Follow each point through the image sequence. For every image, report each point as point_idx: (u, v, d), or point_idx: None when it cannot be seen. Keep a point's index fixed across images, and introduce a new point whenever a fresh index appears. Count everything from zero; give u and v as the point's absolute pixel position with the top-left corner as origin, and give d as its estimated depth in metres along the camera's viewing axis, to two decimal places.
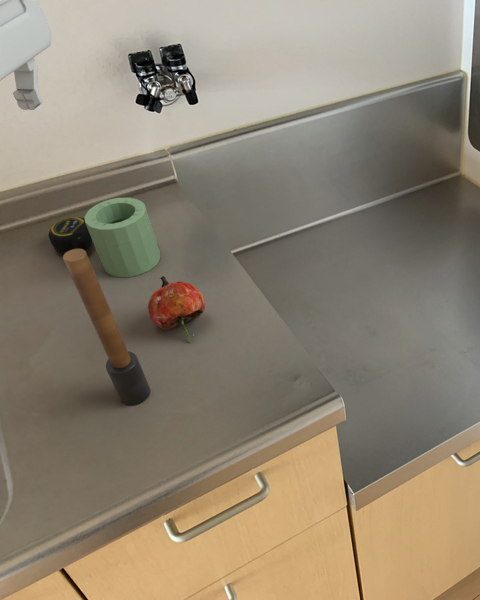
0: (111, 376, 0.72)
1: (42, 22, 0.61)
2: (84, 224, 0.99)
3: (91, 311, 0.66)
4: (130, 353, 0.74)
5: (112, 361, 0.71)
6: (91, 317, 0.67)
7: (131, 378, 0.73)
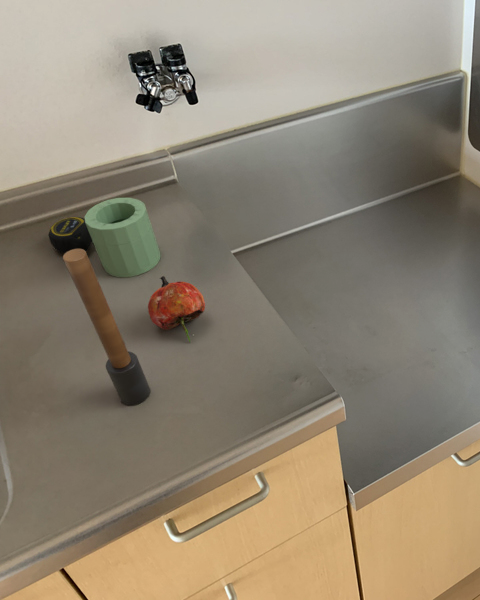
0: (111, 376, 0.72)
1: None
2: (84, 223, 0.99)
3: (91, 311, 0.66)
4: (130, 353, 0.74)
5: (112, 361, 0.71)
6: (91, 317, 0.67)
7: (131, 378, 0.73)
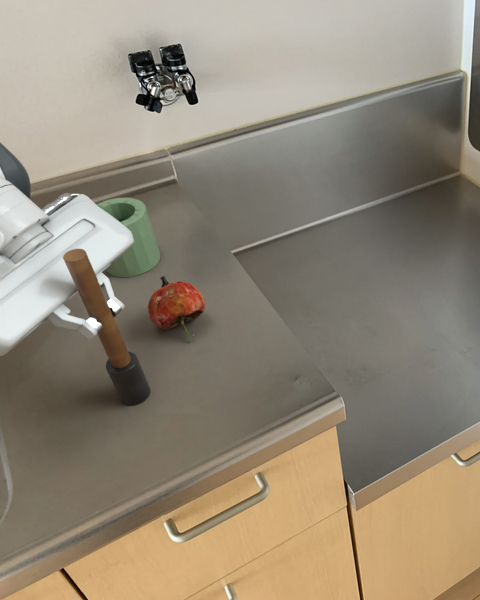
0: (111, 376, 0.72)
1: (116, 228, 0.71)
2: None
3: (91, 311, 0.66)
4: (130, 353, 0.74)
5: (112, 361, 0.71)
6: None
7: (131, 378, 0.73)
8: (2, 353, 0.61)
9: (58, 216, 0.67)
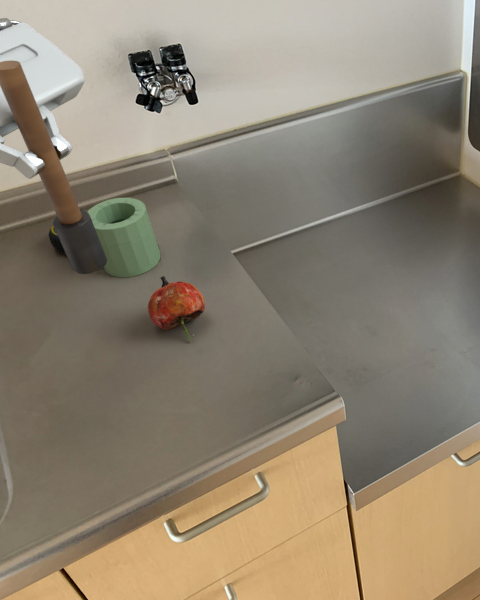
0: (59, 234, 0.63)
1: (63, 61, 0.62)
2: None
3: (30, 143, 0.57)
4: (82, 211, 0.65)
5: (59, 214, 0.62)
6: None
7: (82, 237, 0.64)
8: None
9: None
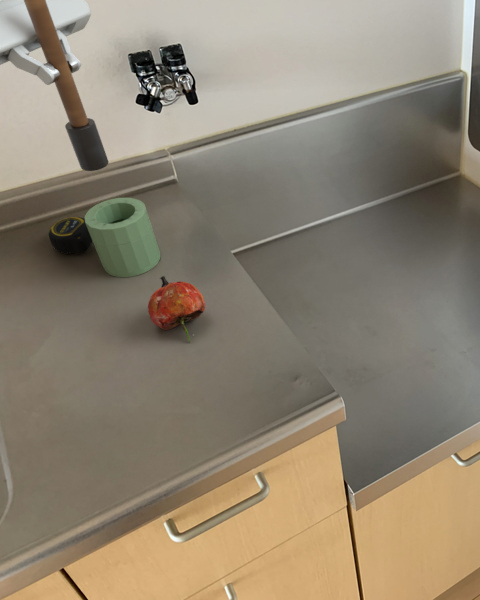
0: (70, 135, 0.79)
1: None
2: (84, 224, 0.99)
3: (49, 55, 0.73)
4: (88, 119, 0.81)
5: (70, 118, 0.78)
6: None
7: (88, 138, 0.80)
8: None
9: None
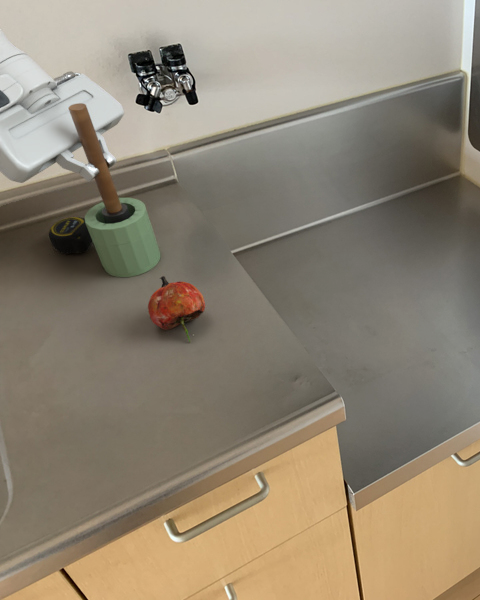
0: (106, 220, 0.91)
1: (110, 100, 0.90)
2: (84, 224, 0.99)
3: (90, 157, 0.84)
4: (121, 204, 0.92)
5: (107, 206, 0.90)
6: None
7: None
8: (21, 179, 0.79)
9: (64, 85, 0.86)
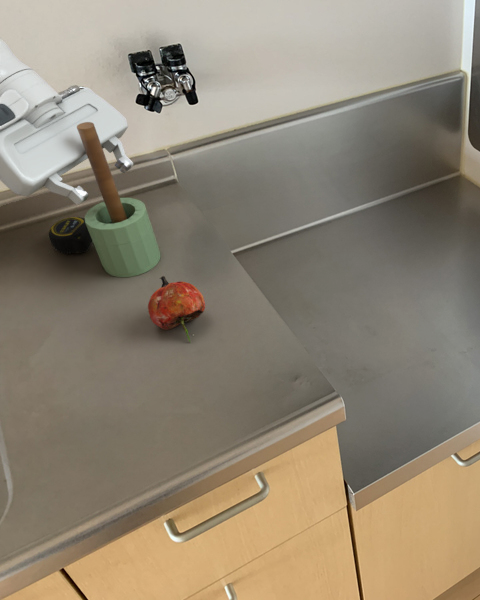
0: None
1: (114, 113, 0.91)
2: (84, 224, 0.99)
3: (97, 174, 0.86)
4: (127, 218, 0.94)
5: (113, 221, 0.92)
6: (97, 180, 0.87)
7: None
8: (27, 192, 0.80)
9: (69, 99, 0.87)
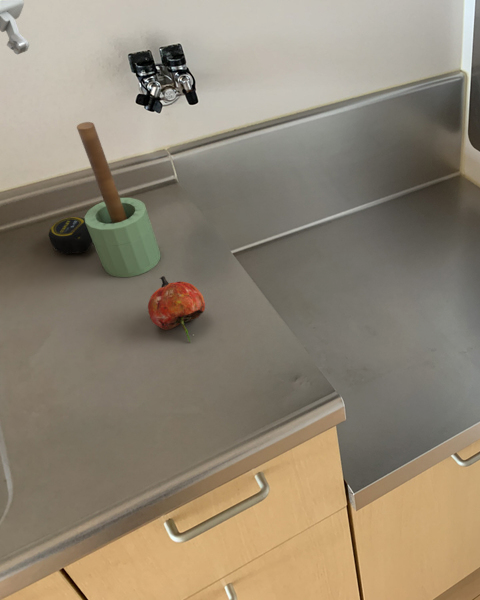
0: None
1: None
2: (84, 224, 0.99)
3: (97, 174, 0.86)
4: (127, 218, 0.94)
5: (113, 221, 0.92)
6: (97, 180, 0.87)
7: None
8: None
9: None
